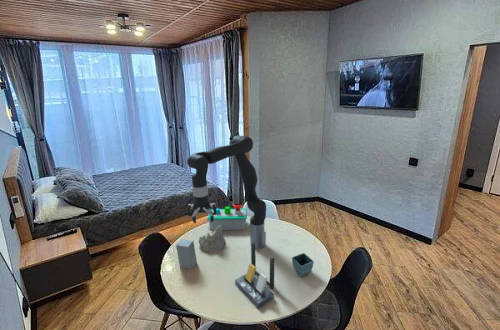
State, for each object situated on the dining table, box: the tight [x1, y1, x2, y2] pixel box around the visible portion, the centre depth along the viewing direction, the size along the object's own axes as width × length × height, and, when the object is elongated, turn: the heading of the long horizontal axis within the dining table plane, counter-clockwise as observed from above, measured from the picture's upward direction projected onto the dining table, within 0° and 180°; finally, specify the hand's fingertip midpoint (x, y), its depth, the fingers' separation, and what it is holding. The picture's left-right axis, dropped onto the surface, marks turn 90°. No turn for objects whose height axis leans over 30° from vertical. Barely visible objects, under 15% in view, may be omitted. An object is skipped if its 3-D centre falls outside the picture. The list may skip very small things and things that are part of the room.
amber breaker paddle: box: [245, 263, 257, 282], centre depth 139 cm, size 2×4×8 cm, turn 37°
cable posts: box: [250, 243, 276, 290], centre depth 143 cm, size 2×18×18 cm, turn 36°
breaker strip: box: [234, 274, 275, 310], centre depth 136 cm, size 10×20×5 cm, turn 36°
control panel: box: [206, 204, 249, 231], centre depth 197 cm, size 15×16×30 cm
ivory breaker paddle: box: [256, 272, 268, 293], centre depth 132 cm, size 2×4×8 cm, turn 37°
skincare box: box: [175, 238, 198, 270], centre depth 155 cm, size 8×7×16 cm
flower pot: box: [291, 252, 315, 277], centre depth 148 cm, size 9×9×9 cm
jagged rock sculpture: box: [198, 226, 226, 252], centre depth 175 cm, size 16×16×15 cm
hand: (203, 222), depth 138 cm, fingers open, 8 cm apart
